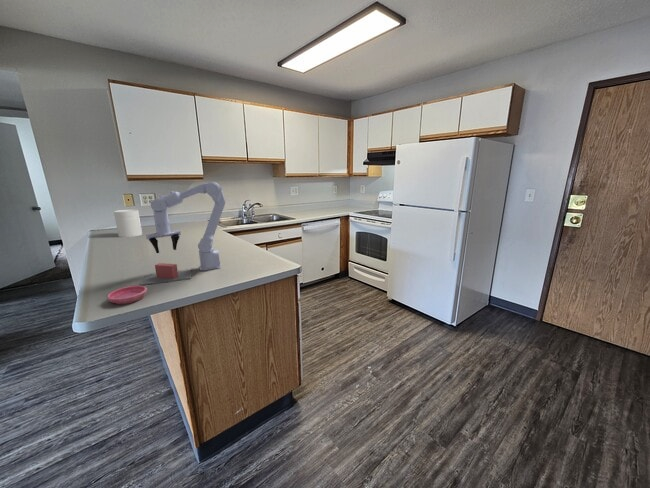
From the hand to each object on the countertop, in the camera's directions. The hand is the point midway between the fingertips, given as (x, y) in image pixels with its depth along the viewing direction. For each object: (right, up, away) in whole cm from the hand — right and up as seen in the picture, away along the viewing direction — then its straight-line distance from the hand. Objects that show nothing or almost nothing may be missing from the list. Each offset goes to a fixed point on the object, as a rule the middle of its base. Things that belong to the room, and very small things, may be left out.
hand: (166, 251), depth 130 cm
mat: (+4, -12, -6) cm, 14 cm away
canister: (-81, +11, +86) cm, 119 cm away
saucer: (+2, -18, -27) cm, 33 cm away
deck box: (+5, -12, -6) cm, 14 cm away
